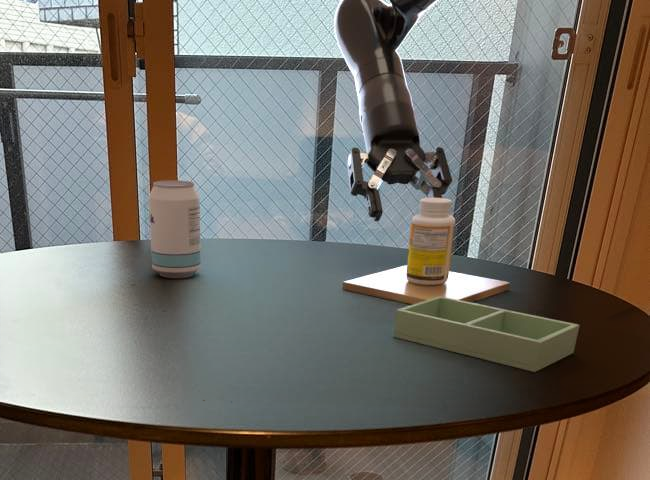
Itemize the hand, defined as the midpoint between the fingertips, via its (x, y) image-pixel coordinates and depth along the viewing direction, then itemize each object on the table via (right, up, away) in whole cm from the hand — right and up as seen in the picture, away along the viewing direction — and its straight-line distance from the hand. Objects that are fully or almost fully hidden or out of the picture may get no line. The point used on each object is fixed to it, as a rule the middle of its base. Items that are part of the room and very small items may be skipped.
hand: (407, 217), depth 111 cm
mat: (+2, -11, -3) cm, 12 cm away
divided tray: (+3, -24, -25) cm, 34 cm away
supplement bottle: (+2, -10, -4) cm, 11 cm away
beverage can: (-32, -7, +3) cm, 33 cm away
